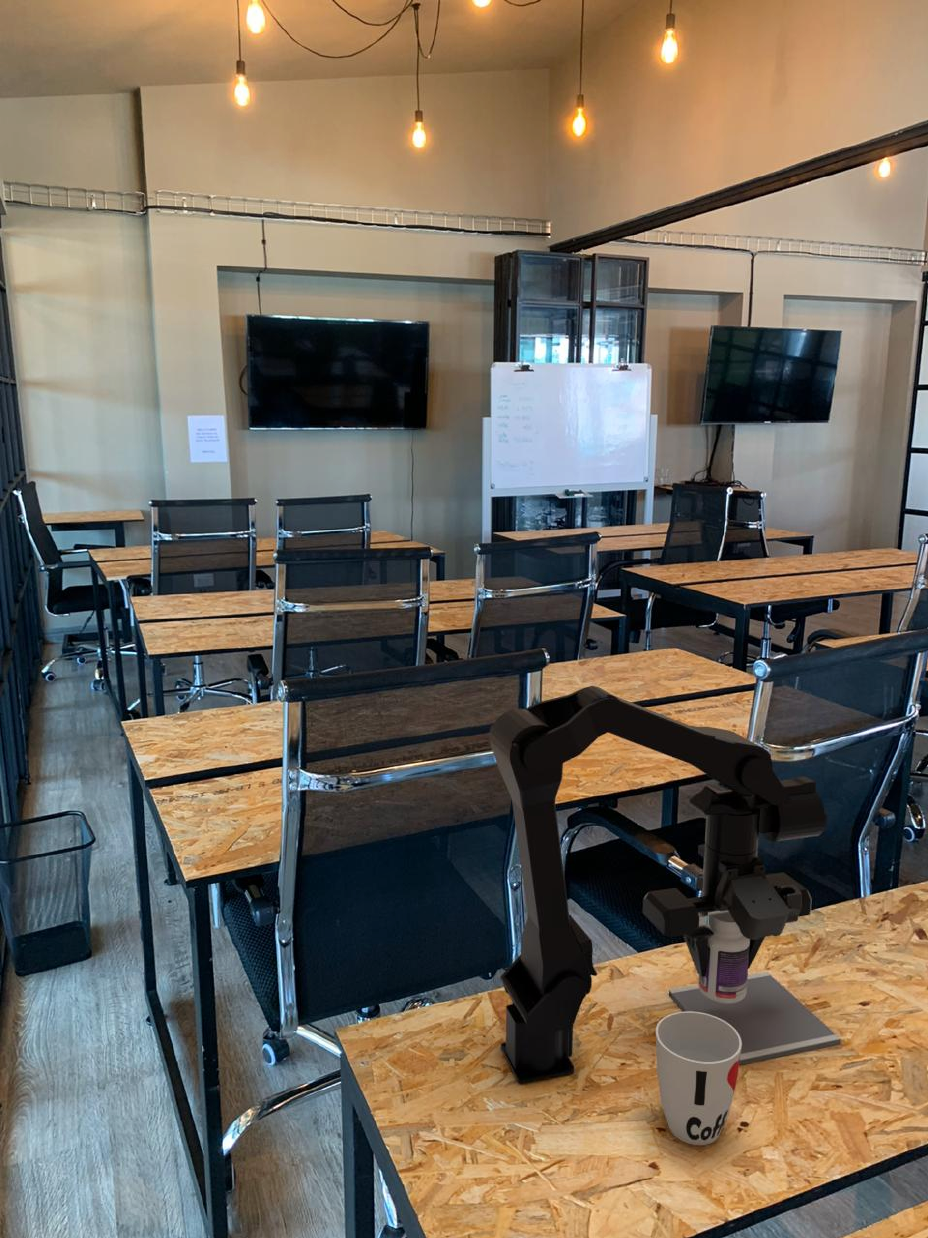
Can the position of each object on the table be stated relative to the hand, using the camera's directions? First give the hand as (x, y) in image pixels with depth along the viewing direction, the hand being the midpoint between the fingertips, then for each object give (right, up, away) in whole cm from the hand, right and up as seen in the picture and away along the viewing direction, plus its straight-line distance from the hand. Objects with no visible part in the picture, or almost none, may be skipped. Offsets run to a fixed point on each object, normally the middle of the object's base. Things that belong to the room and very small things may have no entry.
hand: (723, 971), depth 107 cm
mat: (+4, -7, +2) cm, 8 cm away
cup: (-7, -10, -15) cm, 19 cm away
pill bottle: (0, -3, 0) cm, 3 cm away
